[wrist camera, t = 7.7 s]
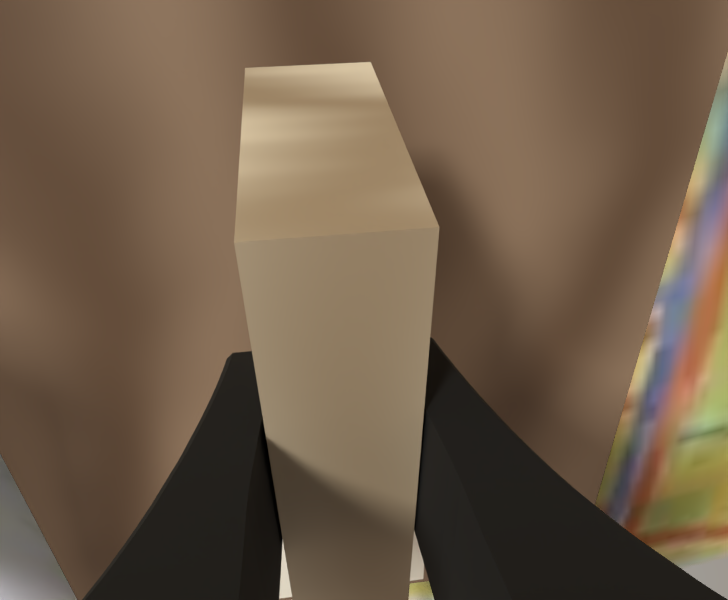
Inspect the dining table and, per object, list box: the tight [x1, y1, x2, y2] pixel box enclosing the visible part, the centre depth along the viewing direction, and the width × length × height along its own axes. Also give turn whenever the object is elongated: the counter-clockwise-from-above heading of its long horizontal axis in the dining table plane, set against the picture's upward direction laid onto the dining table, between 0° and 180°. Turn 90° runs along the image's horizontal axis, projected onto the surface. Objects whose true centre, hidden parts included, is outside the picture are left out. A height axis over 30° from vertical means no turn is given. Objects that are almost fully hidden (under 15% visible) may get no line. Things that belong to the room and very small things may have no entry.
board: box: [0, 0, 728, 600], centre depth 18 cm, size 20×28×1 cm
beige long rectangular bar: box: [234, 62, 439, 600], centre depth 11 cm, size 2×11×5 cm, turn 1°
